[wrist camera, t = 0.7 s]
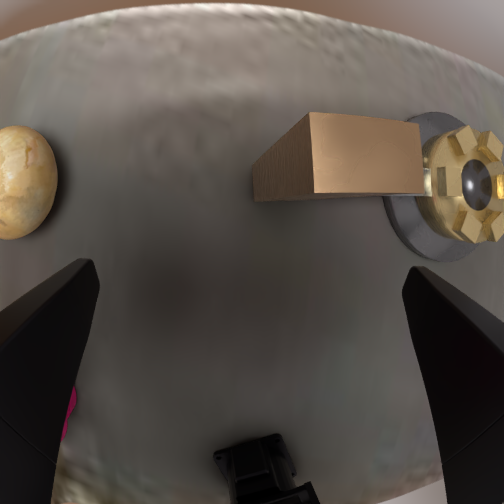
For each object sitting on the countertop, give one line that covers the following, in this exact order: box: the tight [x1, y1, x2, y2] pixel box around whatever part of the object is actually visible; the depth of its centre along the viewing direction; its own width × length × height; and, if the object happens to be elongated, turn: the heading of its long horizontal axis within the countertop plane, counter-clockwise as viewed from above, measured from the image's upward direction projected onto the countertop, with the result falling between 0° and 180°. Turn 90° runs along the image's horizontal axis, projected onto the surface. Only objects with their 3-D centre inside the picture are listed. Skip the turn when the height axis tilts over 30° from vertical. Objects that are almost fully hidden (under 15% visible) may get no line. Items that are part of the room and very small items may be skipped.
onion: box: [0, 126, 58, 240], centre depth 17 cm, size 8×8×7 cm
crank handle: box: [252, 112, 504, 244], centre depth 16 cm, size 22×9×12 cm, turn 93°
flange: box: [383, 112, 480, 262], centre depth 24 cm, size 13×13×2 cm
